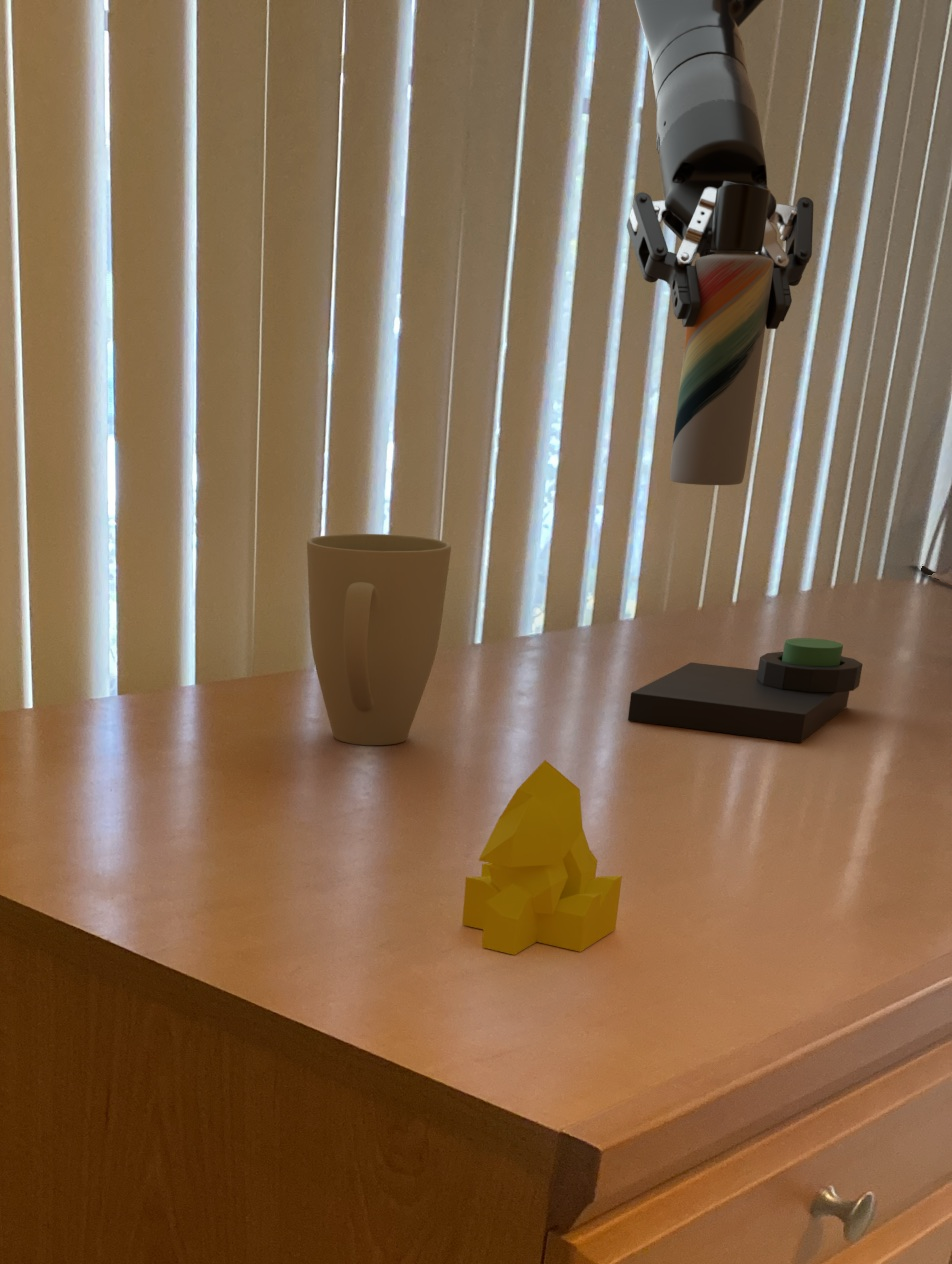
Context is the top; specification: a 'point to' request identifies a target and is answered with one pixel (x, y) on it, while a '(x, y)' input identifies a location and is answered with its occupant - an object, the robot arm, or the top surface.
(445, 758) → the top surface
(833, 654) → the button
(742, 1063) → the top surface
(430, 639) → the mug
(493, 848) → the yellow faceted pointed figurine
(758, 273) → the lotion bottle
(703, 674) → the scale
